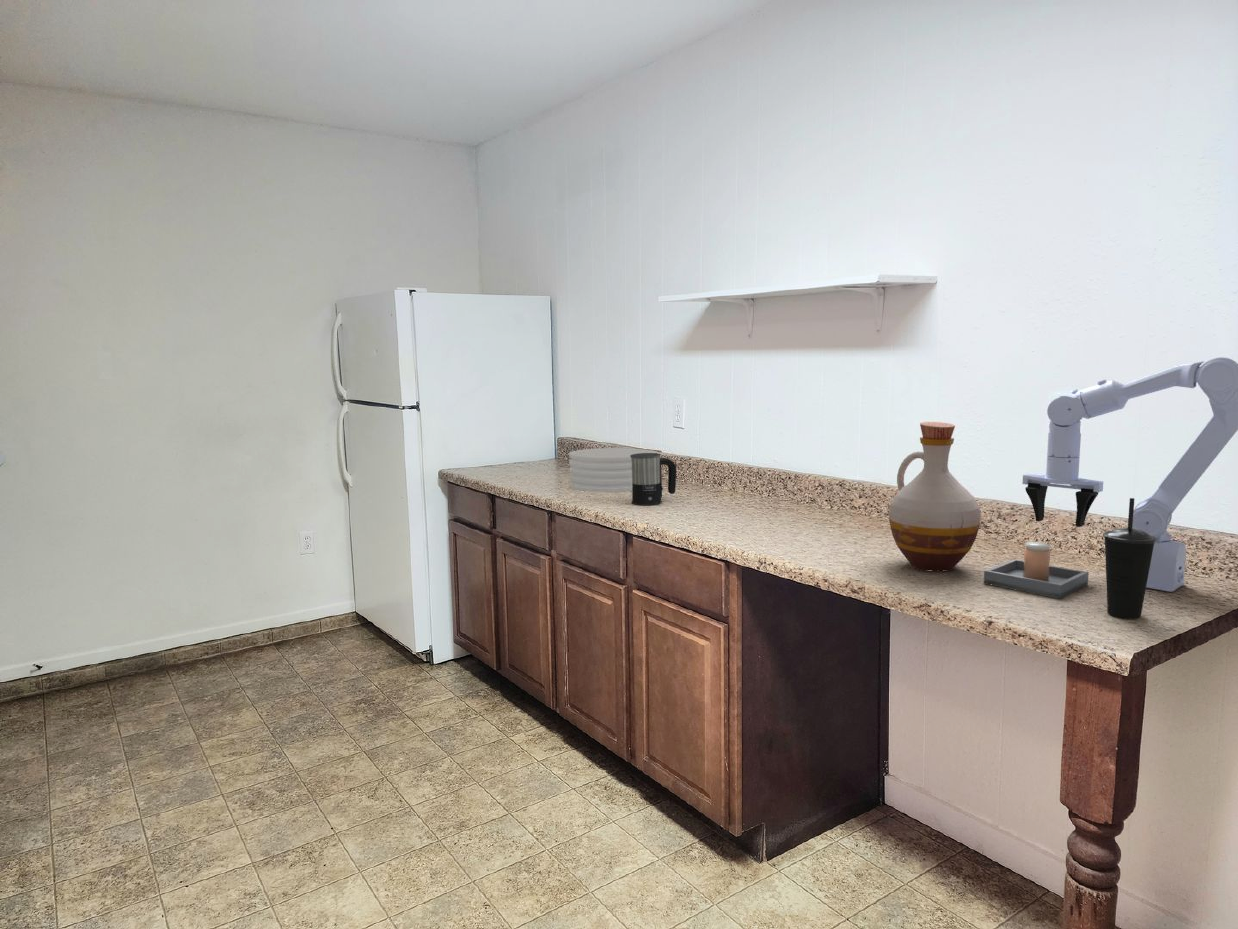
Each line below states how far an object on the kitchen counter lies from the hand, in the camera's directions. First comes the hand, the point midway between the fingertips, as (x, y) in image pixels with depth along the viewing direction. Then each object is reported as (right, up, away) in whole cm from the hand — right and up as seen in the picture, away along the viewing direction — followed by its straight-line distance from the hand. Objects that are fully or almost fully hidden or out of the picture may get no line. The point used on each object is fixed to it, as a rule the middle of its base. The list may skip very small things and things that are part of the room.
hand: (1059, 523), depth 168 cm
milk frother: (-80, 0, +88) cm, 119 cm away
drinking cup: (-3, -14, -27) cm, 30 cm away
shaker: (-9, -10, -8) cm, 15 cm away
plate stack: (-91, +4, +118) cm, 150 cm away
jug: (-24, -10, +7) cm, 26 cm away
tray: (-9, -11, -8) cm, 16 cm away
